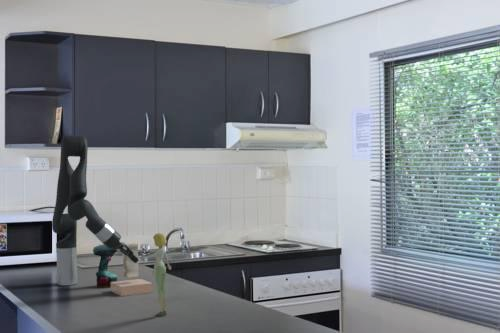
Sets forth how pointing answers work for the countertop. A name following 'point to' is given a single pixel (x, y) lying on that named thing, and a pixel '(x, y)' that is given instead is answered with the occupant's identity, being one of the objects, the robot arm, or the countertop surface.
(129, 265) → the post
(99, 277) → the power drill
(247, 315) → the countertop surface
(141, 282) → the base block
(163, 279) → the sculpture
